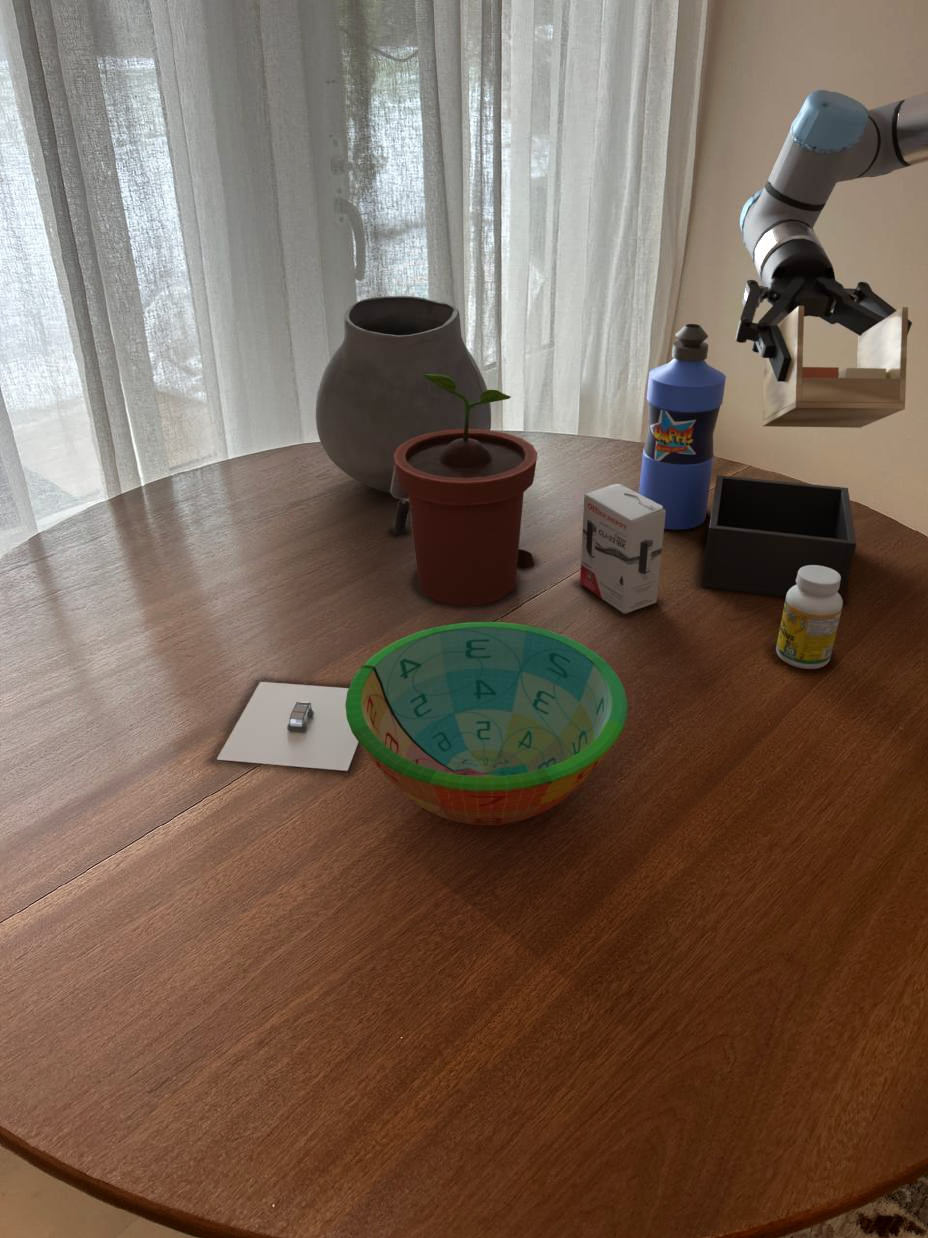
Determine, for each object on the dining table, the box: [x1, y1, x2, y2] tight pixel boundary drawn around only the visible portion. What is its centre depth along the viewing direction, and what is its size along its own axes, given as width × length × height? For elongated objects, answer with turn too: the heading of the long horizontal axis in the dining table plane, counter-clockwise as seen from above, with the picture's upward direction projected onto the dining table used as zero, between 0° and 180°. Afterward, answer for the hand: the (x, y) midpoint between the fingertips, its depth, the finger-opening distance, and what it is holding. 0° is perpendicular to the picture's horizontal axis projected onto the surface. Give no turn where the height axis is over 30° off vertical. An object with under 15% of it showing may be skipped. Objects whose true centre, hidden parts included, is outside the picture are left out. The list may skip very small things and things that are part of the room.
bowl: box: [345, 621, 628, 826], centre depth 76 cm, size 22×22×10 cm
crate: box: [762, 306, 909, 429], centre depth 97 cm, size 11×11×10 cm
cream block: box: [838, 367, 886, 379], centre depth 96 cm, size 4×4×4 cm
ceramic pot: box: [315, 295, 492, 495], centre depth 128 cm, size 24×24×25 cm
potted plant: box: [390, 374, 538, 606], centre depth 106 cm, size 18×22×25 cm
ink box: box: [579, 483, 666, 615], centre depth 104 cm, size 8×5×12 cm, turn 31°
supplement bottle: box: [775, 565, 844, 670], centre depth 93 cm, size 5×5×10 cm
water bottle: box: [638, 323, 727, 530], centre depth 118 cm, size 9×9×25 cm
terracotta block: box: [802, 366, 840, 378], centre depth 96 cm, size 4×4×4 cm
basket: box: [700, 474, 857, 602], centre depth 111 cm, size 16×16×8 cm
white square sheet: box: [216, 681, 359, 772], centre depth 86 cm, size 12×12×2 cm
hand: (841, 370), depth 94 cm, fingers closed on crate, 11 cm apart
